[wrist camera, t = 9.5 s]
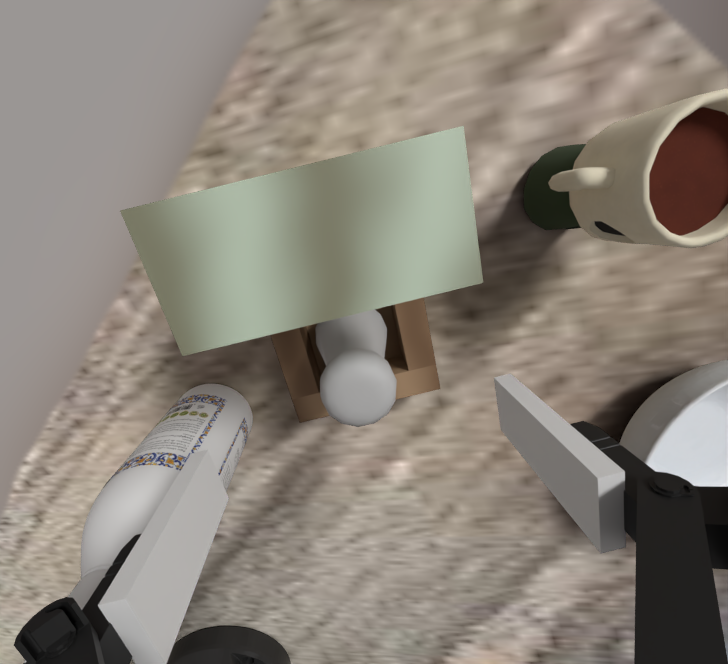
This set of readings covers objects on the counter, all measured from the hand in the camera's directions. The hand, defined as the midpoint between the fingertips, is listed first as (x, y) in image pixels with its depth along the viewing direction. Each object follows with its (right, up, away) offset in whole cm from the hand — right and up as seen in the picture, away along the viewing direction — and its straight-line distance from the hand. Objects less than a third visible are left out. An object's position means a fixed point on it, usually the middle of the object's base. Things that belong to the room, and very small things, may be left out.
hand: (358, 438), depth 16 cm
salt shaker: (-1, +5, +15) cm, 16 cm away
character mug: (+16, +16, +14) cm, 27 cm away
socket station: (-2, +8, +15) cm, 17 cm away
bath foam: (-14, -3, +18) cm, 22 cm away
